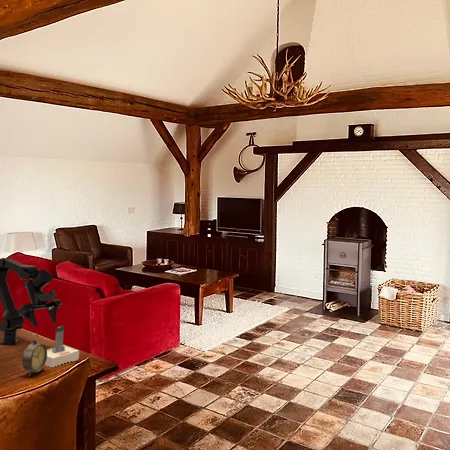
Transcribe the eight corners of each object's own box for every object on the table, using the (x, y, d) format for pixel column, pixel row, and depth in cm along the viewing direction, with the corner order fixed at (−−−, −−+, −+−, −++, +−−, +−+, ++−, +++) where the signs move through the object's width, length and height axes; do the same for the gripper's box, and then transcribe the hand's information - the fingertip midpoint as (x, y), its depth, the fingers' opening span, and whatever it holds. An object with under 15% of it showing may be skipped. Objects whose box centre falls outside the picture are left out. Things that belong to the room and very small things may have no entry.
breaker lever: (53, 350, 202) (55, 326, 202) (59, 348, 205) (61, 325, 204) (57, 351, 201) (59, 327, 200) (63, 350, 204) (65, 326, 203)
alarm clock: (30, 379, 181) (33, 337, 180) (18, 377, 182) (21, 335, 182) (46, 369, 192) (49, 330, 191) (34, 367, 193) (37, 328, 192)
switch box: (36, 361, 200) (37, 348, 199) (62, 354, 212) (63, 341, 211) (52, 367, 195) (53, 354, 194) (78, 359, 207) (79, 346, 206)
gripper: (26, 286, 198) (37, 321, 194) (63, 282, 214) (74, 314, 210) (12, 297, 203) (22, 331, 199) (49, 292, 219) (59, 324, 215)
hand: (45, 325), depth 206 cm, fingers open, 9 cm apart
